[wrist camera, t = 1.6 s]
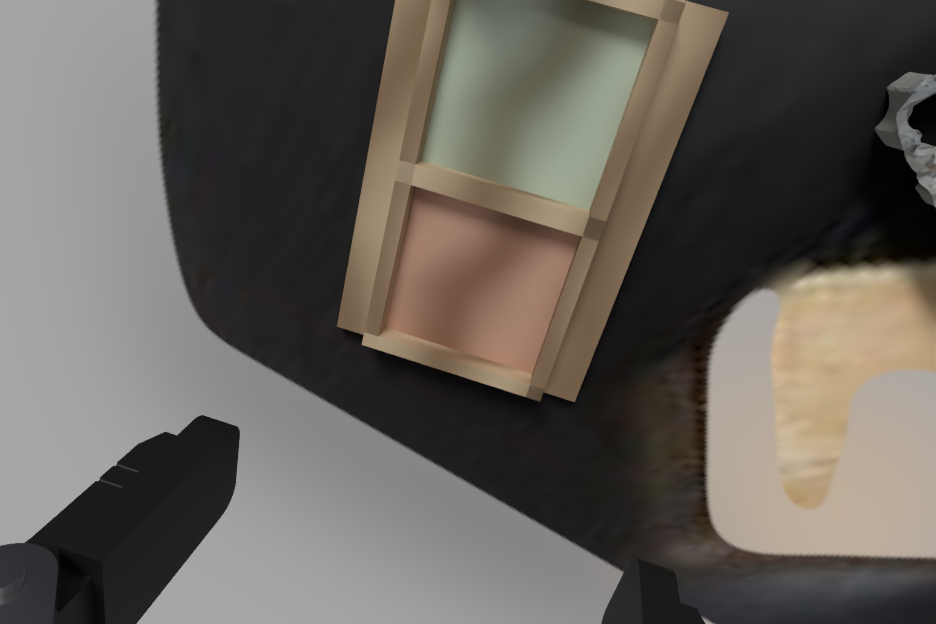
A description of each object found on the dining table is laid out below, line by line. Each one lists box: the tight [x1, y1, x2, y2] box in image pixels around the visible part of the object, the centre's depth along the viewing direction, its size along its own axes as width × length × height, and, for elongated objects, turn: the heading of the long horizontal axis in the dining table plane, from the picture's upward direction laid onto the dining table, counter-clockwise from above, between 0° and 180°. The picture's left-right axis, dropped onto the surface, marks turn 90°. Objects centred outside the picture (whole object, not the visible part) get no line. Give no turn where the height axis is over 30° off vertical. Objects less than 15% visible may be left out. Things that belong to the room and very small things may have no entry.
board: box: [337, 0, 729, 402], centre depth 30 cm, size 14×20×2 cm
